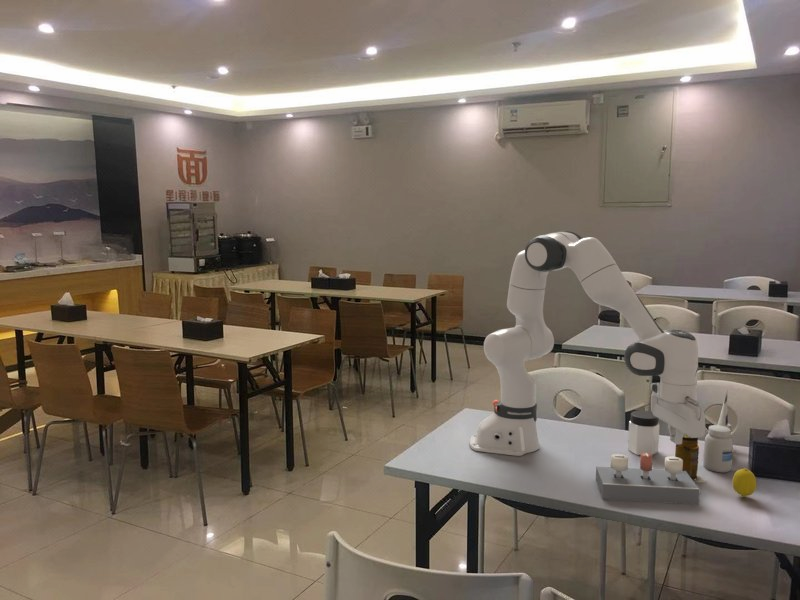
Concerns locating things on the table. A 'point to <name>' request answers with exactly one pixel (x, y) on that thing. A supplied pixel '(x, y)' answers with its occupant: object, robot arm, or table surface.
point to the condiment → (689, 456)
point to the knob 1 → (619, 463)
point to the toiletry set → (719, 444)
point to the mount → (646, 486)
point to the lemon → (744, 482)
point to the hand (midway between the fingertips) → (675, 442)
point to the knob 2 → (673, 466)
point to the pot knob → (646, 464)
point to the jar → (643, 433)
